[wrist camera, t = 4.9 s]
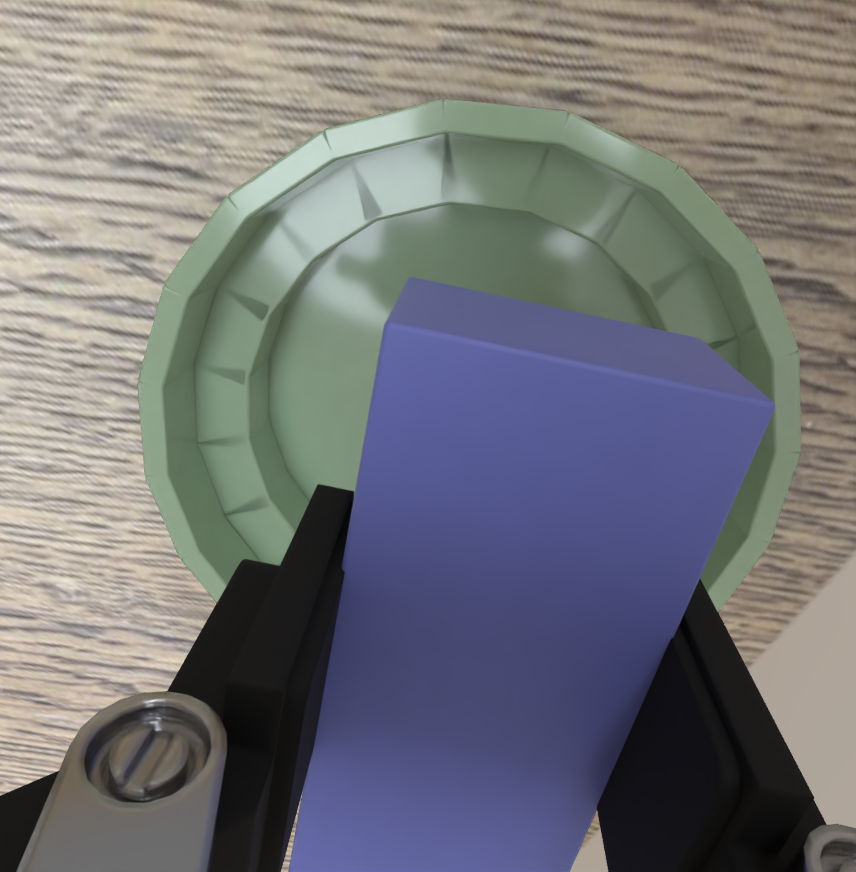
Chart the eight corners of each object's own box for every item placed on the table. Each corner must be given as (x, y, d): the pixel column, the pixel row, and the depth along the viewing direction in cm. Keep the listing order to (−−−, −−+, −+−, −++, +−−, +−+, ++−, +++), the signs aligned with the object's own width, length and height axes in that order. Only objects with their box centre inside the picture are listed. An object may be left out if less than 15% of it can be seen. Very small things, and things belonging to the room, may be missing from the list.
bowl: (441, -31, 16) (433, -99, 12) (840, 384, 19) (945, 447, 15) (113, 415, 21) (23, 481, 16) (476, 684, 24) (478, 795, 20)
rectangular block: (408, 274, 9) (383, 320, 7) (701, 337, 9) (779, 403, 7) (319, 753, 12) (284, 890, 10) (529, 795, 13) (541, 940, 10)
